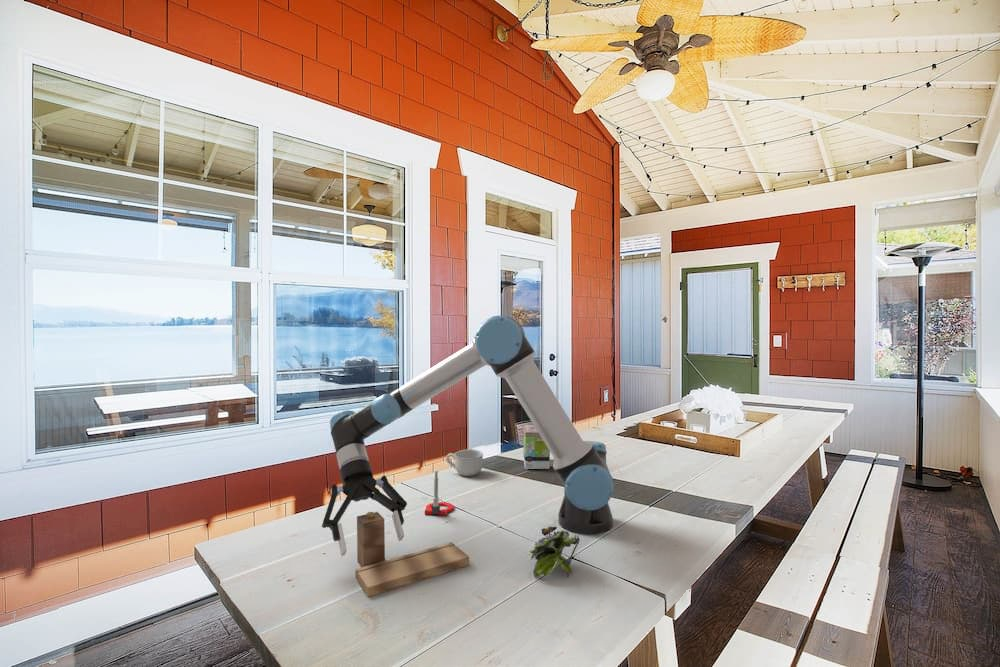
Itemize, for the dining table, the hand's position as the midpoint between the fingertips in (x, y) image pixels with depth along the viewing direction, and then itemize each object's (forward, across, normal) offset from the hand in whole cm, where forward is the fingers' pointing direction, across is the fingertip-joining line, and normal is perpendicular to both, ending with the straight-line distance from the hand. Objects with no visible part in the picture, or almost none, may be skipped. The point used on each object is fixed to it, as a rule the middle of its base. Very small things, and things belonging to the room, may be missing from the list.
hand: (373, 545), depth 112 cm
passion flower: (+21, -35, +13) cm, 43 cm away
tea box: (-28, -81, -36) cm, 93 cm away
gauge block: (+2, 0, -5) cm, 6 cm away
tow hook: (-13, -28, -21) cm, 37 cm away
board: (+8, -7, +1) cm, 11 cm away
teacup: (-32, -52, -40) cm, 72 cm away
